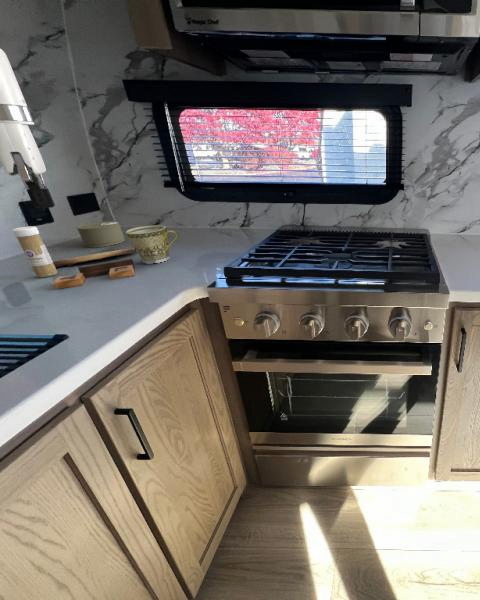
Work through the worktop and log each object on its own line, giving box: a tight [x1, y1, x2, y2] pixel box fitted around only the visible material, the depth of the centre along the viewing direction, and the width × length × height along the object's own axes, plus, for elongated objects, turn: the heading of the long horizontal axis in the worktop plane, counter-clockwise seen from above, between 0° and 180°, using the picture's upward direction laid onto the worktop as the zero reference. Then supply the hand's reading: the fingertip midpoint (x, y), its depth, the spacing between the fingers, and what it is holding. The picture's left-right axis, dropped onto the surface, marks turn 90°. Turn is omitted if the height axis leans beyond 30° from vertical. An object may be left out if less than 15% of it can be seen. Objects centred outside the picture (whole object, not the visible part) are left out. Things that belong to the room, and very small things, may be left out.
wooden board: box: [52, 247, 137, 268], centre depth 105 cm, size 25×10×1 cm, turn 128°
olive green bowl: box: [75, 220, 126, 249], centre depth 121 cm, size 12×12×7 cm
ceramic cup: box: [125, 224, 178, 265], centre depth 101 cm, size 13×10×10 cm
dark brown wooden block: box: [77, 258, 136, 279], centre depth 94 cm, size 12×3×3 cm, turn 126°
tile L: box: [108, 265, 135, 280], centre depth 92 cm, size 5×5×2 cm
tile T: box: [53, 272, 86, 290], centre depth 87 cm, size 5×5×2 cm
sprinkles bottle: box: [11, 225, 59, 278], centre depth 90 cm, size 5×5×13 cm
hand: (45, 207), depth 76 cm, fingers closed
